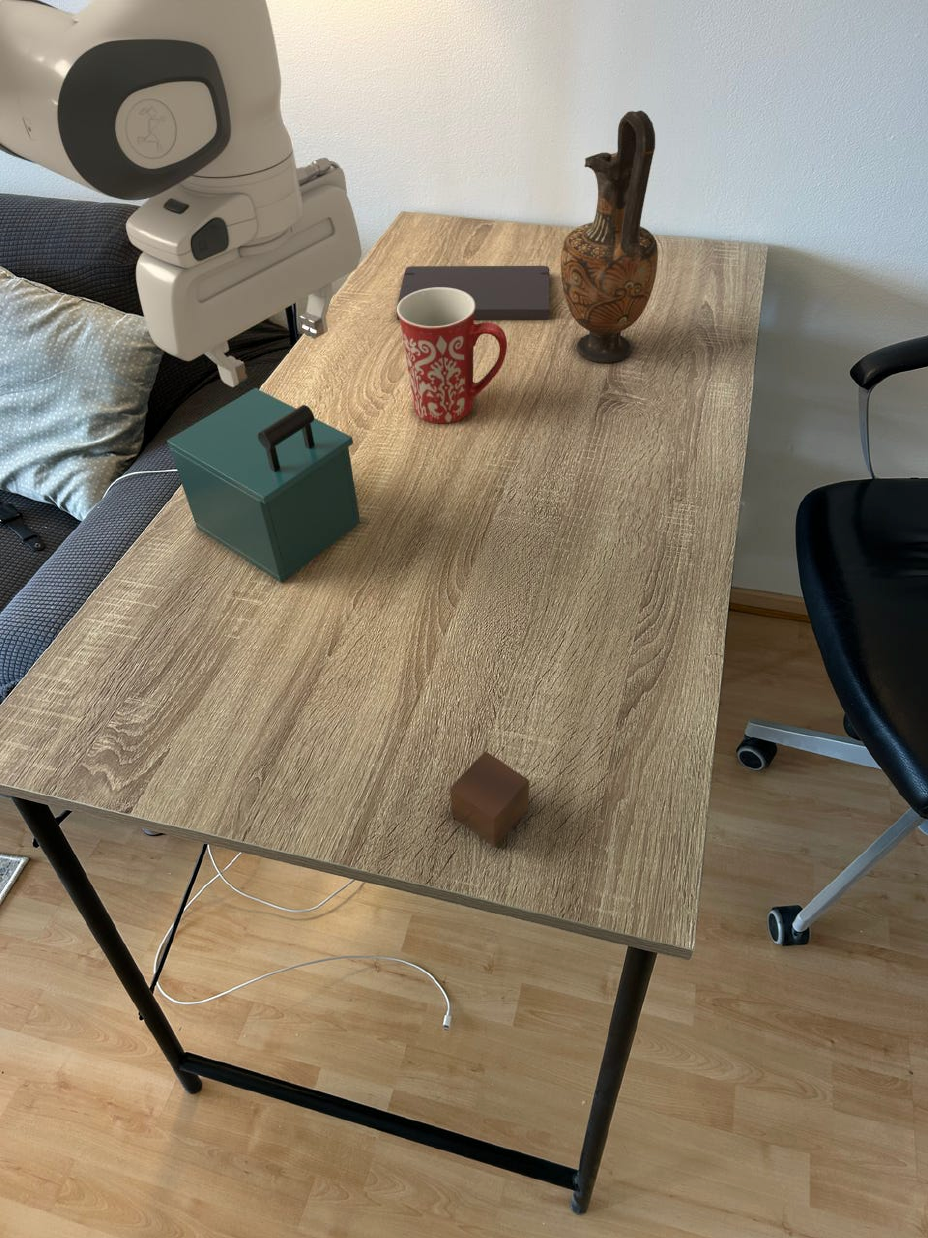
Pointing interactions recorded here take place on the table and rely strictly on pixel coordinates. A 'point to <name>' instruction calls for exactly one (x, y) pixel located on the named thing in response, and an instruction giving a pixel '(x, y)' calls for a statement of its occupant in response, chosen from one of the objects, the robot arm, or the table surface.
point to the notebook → (488, 288)
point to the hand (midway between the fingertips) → (276, 356)
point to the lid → (260, 444)
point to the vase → (613, 246)
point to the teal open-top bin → (274, 514)
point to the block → (489, 798)
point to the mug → (444, 351)
